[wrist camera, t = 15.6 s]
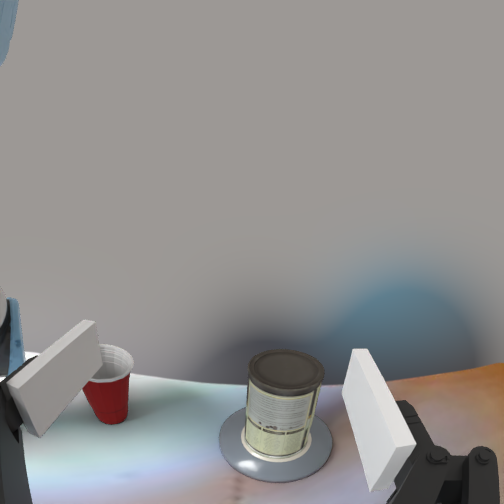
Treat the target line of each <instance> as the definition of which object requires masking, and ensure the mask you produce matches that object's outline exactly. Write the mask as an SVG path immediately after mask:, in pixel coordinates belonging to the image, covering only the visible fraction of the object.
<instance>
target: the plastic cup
mask: <svg viewBox="0 0 504 504" xmlns="http://www.w3.org/2000/svg"><path fill="white" fill-rule="evenodd" d="M99 347H100V353H101V358H102V363H103V365H102V366H101V367H100V369H99V370H98V371H97V372H96V373H95V374H94V375H93V377H92V378H91V379H90V380H89V381H88V382H87V383H86V385H85V386H84V387H83V388H82V389H83V392H84V394H85V396H86V398H87V400H88V402H89V404H90V405H91V407H92V409H93V411H94V413H95V414H96V416H97V417H98V418H99V420H100V421H101V422H103V423H105V424H111V425H112V424H118V423H120V422H123V421H124V420H125V419H126V417H127V413H128V391H129V377H130V372H131V370H132V367H133V365H134V361H133V358H132V356H131V355H130V354H129V353H128V352H126V350H124V349H121V348H119V347H116V346H111V345H106V344H99Z"/></svg>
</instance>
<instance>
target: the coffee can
mask: <svg viewBox="0 0 504 504" xmlns="http://www.w3.org/2000/svg"><path fill="white" fill-rule="evenodd" d="M323 378H324V368H323V366H322V364H321V363H320V362H319V361H318V360H317V359H316V358H314V357H312V356H310V355H308V354H306V353H302V352H299V351H294V350H286V349H276V350H269V351H264V352H261V353H259V354H257V355H255V356H254V357H253V358H252V359H251V360H250V361H249V364H248V387H247V403H246V417H245V431H244V440H245V443H246V445H247V446H248V447H249V448H250V449H251V450H252V451H253V452H254V453H256V454H258V455H260V456H262V457H266V458H270V459H285V458H290V457H292V456H295V455H297V454H299V453H300V452H301V451H302V450H303V449H304V448H305V447H306V445H307V442H308V436H309V433H310V429H311V425H312V421H313V417H314V413H315V408H316V405H317V400H318V396H319V391H320V387H321V382H322V380H323Z"/></svg>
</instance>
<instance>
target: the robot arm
mask: <svg viewBox="0 0 504 504" xmlns="http://www.w3.org/2000/svg"><path fill="white" fill-rule="evenodd" d="M18 1H19V0H0V66H1V65H2V63H3V62H4V60H5V58H6V55H7V53H8V49H9V43H10V40H11V38H12V34H13V29H14V24H15V18H16V13H17V7H18ZM102 365H103V363H102V358H101V353H100V347H99V341H98V335H97V329H96V322H94V321H90V320H85V319H84V320H83V321H82V322H80V323H79V324H78V325H76V326H75V327H74V328H72V329H71V330H70V331H69V332H68V333H66V334H65V335H64V336H62V337H61V338H60V339H59V340H57V341H56V342H55V343H54V344H52V345H51V346H50V347H49V348H47V349H46V350H45V351H44V352H42V353H41V354H40V355H39V356H35V357H32V358H30V359H28V360H27V361H26V360H25V352H24V345H23V337H22V328H21V320H20V310H19V303H18V301H17V300H16V299H14V298H13V299H12V298H7V299H6V297H5V294H4V292H3V290H2V288H1V287H0V377H6V378H5V379H4V380H3V381H1V382H0V504H33V503H32V499H31V494H30V489H29V484H28V478H27V472H26V465H25V458H24V449H23V439H22V431H21V428H20V425H21V424H22V423H24V425H25V427H26V429H27V431H28V432H29V433H31V434H33V435H35V436H37V437H39V438H41V437H42V436H43V434H44V433H45V432H46V431H47V429H48V428H49V427H50V426H51V425H52V423H53V422H54V421H55V420H56V419H57V417H58V416H59V415H60V414H61V413H62V411H63V410H64V409H65V408H66V407H67V406H68V404H69V403H70V402H71V401H72V400H73V399H74V397H75V396H76V395H77V394H78V393H79V392H80V390H81V389H82V388H83V387H84V386H85V385H86V383H87V382H88V381H89V380H90V379H91V378H92V377H93V375H94V374H95V373H96V372H97V371H98V370H99V369H100V367H101V366H102ZM342 396H343V399H344V402H345V406H346V409H347V412H348V416H349V419H350V423H351V426H352V429H353V433H354V436H355V440H356V443H357V447H358V450H359V454H360V457H361V461H362V465H363V468H364V472H365V476H366V480H367V483H368V487H369V491H370V492H373V491H380V490H386V489H389V487H390V486H391V484H392V483H393V481H394V482H395V485H396V490H395V491H394V492H393V494H392V495H391V496H390V498H389V499H388V500H387V503H386V504H434V503H437V504H500V496H499V477H498V465H497V458H496V455H495V453H494V452H493V451H492V450H491V449H489V448H488V447H483V446H479V447H475V448H473V449H472V450H471V452H470V453H469V454H468V456H452V455H450V453H449V452H448V451H447V450H446V449H444V448H442V447H440V446H435V445H434V444H433V442H432V440H431V438H430V436H429V434H428V432H427V431H426V429H425V427H424V425H423V423H421V420H420V418H419V417H418V414H417V413H416V411H415V409H414V407H413V406H412V405H410V404H409V403H408V402H407V401H406V400H402V401H395V400H394V398H393V396H392V394H391V392H390V390H389V388H388V386H387V384H386V383H385V381H384V379H383V377H382V375H381V373H380V371H379V369H378V368H377V366H376V364H375V362H374V360H373V358H372V357H371V355H370V353H369V351H368V349H353V350H352V355H351V359H350V363H349V367H348V371H347V375H346V378H345V382H344V386H343V389H342Z"/></svg>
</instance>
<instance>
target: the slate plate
mask: <svg viewBox="0 0 504 504" xmlns="http://www.w3.org/2000/svg"><path fill="white" fill-rule="evenodd" d="M245 417H246V407H245V408H243V409H241V410H239V411H237V412H235V413H234V414H232V415H231V416H230V417H229V418H228V419H227V420H226V421H225V422H224V424H223V425H222V427H221V430H220V435H219V444H220V449H221V452H222V454H223V457H224V458H225V459H226V461H227V462H228V463H229V464H230V465H231V466H232V467H233V468H234V469H235V470H237V471H238V472H240V473H242V474H243V475H245V476H248V477H250V478H252V479H256V480H259V481H264V482H271V483H286V482H293V481H297V480H300V479H303V478H306V477H308V476H310V475H312V474H313V473H315V472H316V471H318V470H319V469H320V468H321V467H322V466H323V465H324V464H325V462H326V461H327V459H328V457H329V455H330V452H331V449H332V436H331V433H330V431H329V429H328V427H327V426H326V424H325V423H324V422H323V421H322V420H321V419H320V418H318V417H317V416H316V415H314V417H313V421H312V425H311V429H310V433H309V436H308V442H307V445H306V447H305V448H304V449H303V450H302V451H301V452H300V453H299V454H297V455H295V456H292V457H290V458H285V459H270V458H266V457H262V456H260V455H258V454H256V453H254V452H253V451H252V450H251V449H250V448H249V447H248V446H247V445H246V443H245V440H244V431H245Z"/></svg>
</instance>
